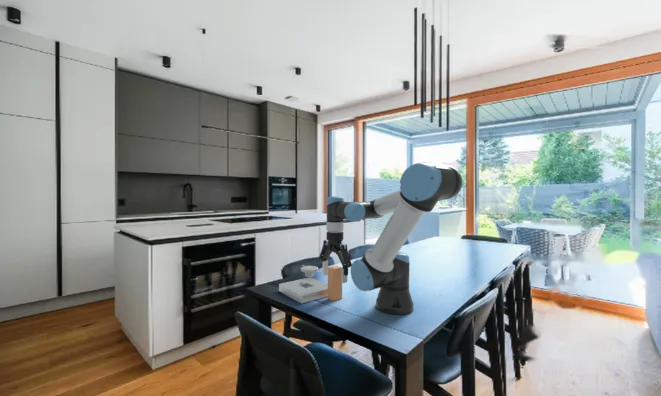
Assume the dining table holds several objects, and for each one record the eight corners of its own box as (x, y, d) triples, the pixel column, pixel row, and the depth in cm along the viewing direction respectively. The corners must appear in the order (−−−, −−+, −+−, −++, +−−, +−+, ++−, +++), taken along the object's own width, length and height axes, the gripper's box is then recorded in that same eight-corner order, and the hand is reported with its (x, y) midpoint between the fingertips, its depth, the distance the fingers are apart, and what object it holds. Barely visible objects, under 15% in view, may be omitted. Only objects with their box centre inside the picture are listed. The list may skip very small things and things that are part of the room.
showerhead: (307, 263, 168) (321, 265, 162) (307, 275, 168) (321, 278, 162) (296, 266, 161) (310, 269, 155) (296, 279, 161) (310, 283, 155)
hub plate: (334, 294, 138) (334, 286, 138) (301, 303, 127) (301, 295, 127) (310, 283, 154) (310, 277, 154) (279, 291, 143) (279, 283, 142)
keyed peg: (336, 296, 136) (336, 265, 136) (342, 298, 133) (342, 267, 133) (327, 298, 133) (327, 267, 133) (333, 301, 130) (333, 269, 130)
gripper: (360, 234, 125) (359, 284, 126) (324, 227, 144) (324, 270, 145) (347, 235, 120) (346, 287, 121) (312, 228, 140) (311, 273, 141)
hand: (334, 278), depth 133 cm, fingers open, 13 cm apart
